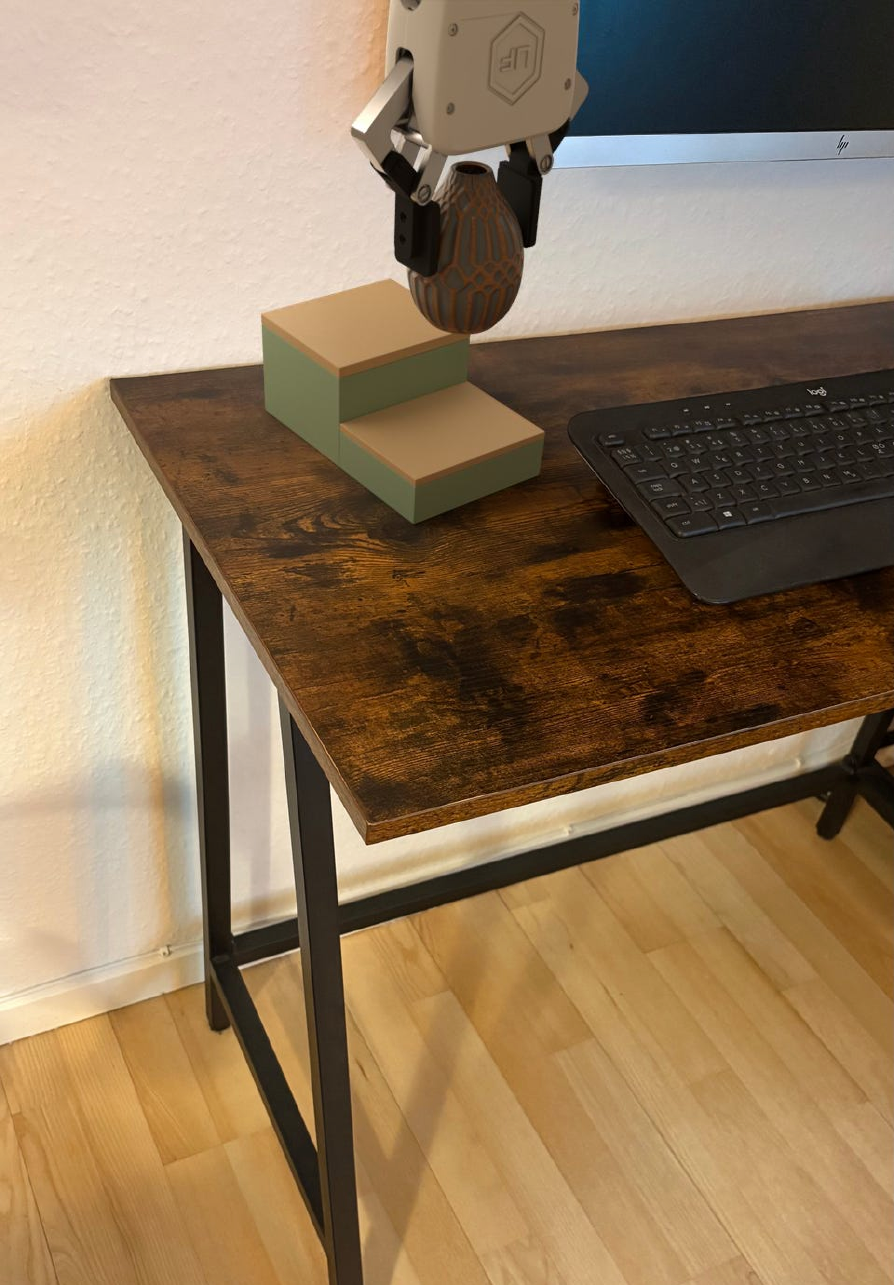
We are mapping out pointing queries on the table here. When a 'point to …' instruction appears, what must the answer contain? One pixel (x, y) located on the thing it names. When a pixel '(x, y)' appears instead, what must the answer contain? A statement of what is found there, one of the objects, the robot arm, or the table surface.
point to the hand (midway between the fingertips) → (466, 251)
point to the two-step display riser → (392, 401)
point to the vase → (471, 254)
